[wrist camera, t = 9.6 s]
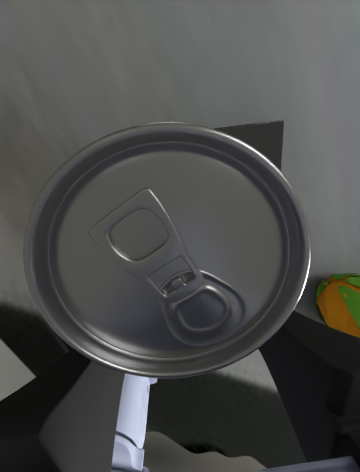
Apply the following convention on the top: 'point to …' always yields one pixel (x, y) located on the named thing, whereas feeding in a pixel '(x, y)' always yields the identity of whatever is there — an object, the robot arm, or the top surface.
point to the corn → (340, 302)
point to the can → (167, 250)
